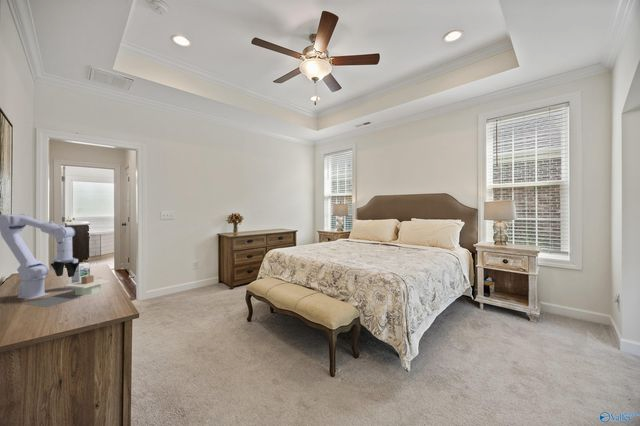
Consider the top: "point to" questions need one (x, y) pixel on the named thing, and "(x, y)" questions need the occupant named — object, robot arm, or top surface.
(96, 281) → the cover sheet
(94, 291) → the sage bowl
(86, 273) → the syrup box
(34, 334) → the top surface
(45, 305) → the charcoal mat
